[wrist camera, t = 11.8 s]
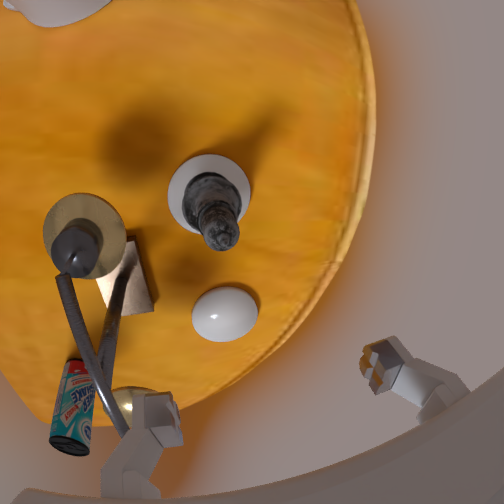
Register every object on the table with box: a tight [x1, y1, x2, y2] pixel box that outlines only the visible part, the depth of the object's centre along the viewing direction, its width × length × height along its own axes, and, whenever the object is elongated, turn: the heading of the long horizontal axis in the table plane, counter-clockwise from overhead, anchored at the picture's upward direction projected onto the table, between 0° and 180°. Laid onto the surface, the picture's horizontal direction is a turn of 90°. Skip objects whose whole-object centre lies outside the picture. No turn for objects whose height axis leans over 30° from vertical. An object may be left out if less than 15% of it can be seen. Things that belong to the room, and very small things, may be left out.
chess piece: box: [182, 172, 242, 251], centre depth 27 cm, size 6×6×12 cm
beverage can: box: [49, 359, 96, 456], centre depth 34 cm, size 6×6×15 cm
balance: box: [43, 193, 158, 438], centre depth 26 cm, size 26×8×20 cm, turn 3°
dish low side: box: [168, 154, 250, 234], centre depth 32 cm, size 9×9×1 cm
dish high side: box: [192, 286, 258, 342], centre depth 40 cm, size 9×9×1 cm
